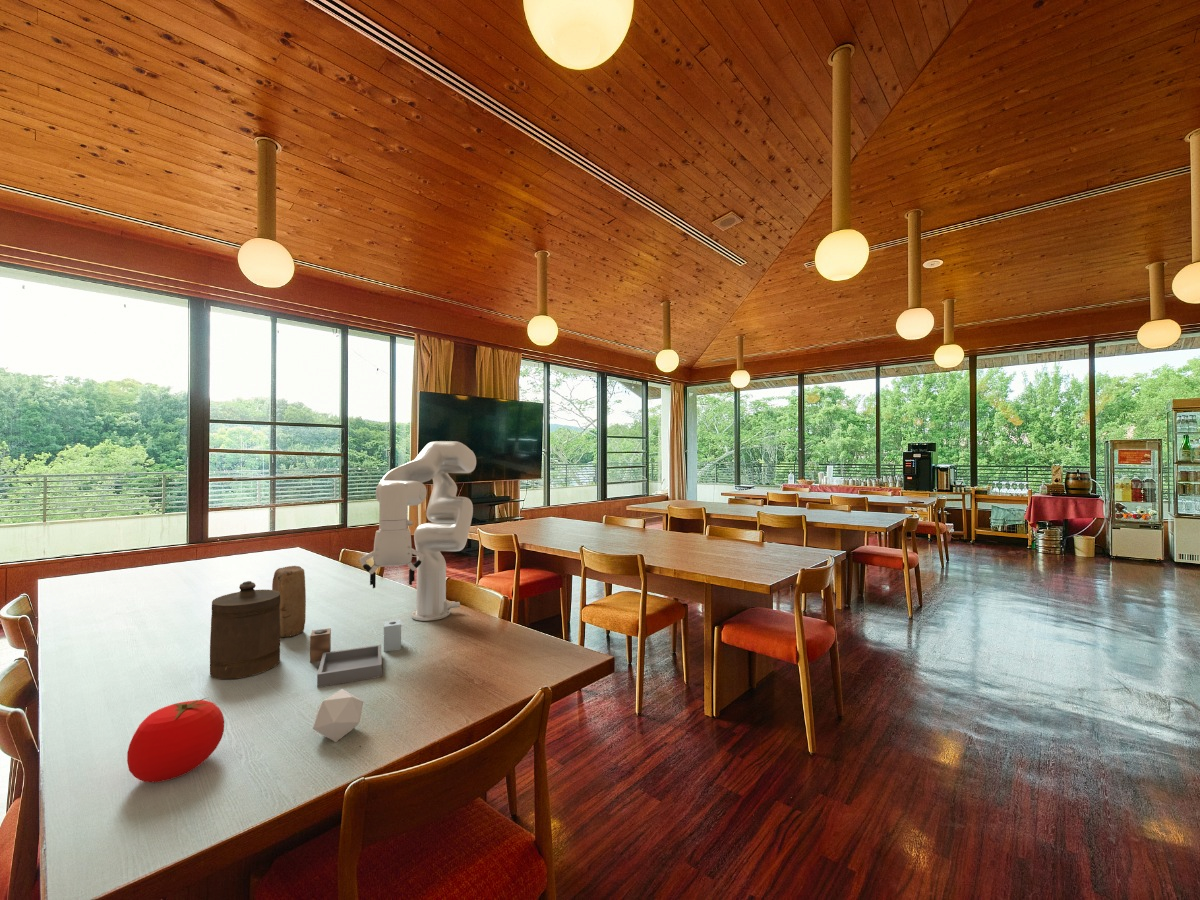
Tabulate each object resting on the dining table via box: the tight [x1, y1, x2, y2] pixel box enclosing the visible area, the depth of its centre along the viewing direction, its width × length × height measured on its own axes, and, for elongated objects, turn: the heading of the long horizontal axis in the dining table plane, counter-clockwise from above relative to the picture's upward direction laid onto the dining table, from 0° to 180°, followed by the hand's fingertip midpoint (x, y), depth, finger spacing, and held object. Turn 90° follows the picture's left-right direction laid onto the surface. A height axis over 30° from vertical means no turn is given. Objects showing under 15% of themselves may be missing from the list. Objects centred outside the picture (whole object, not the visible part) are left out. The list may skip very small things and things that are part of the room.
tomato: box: [126, 696, 225, 783], centre depth 87 cm, size 12×14×12 cm
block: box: [271, 565, 307, 638], centre depth 153 cm, size 11×8×20 cm
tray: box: [316, 644, 383, 688], centre depth 127 cm, size 14×14×3 cm
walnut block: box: [309, 628, 332, 663], centre depth 135 cm, size 4×4×7 cm
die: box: [312, 688, 364, 743], centre depth 98 cm, size 8×9×10 cm
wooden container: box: [209, 580, 281, 680], centre depth 129 cm, size 15×15×22 cm
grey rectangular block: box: [383, 619, 402, 652], centre depth 142 cm, size 4×4×7 cm
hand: (392, 585), depth 142 cm, fingers open, 9 cm apart
